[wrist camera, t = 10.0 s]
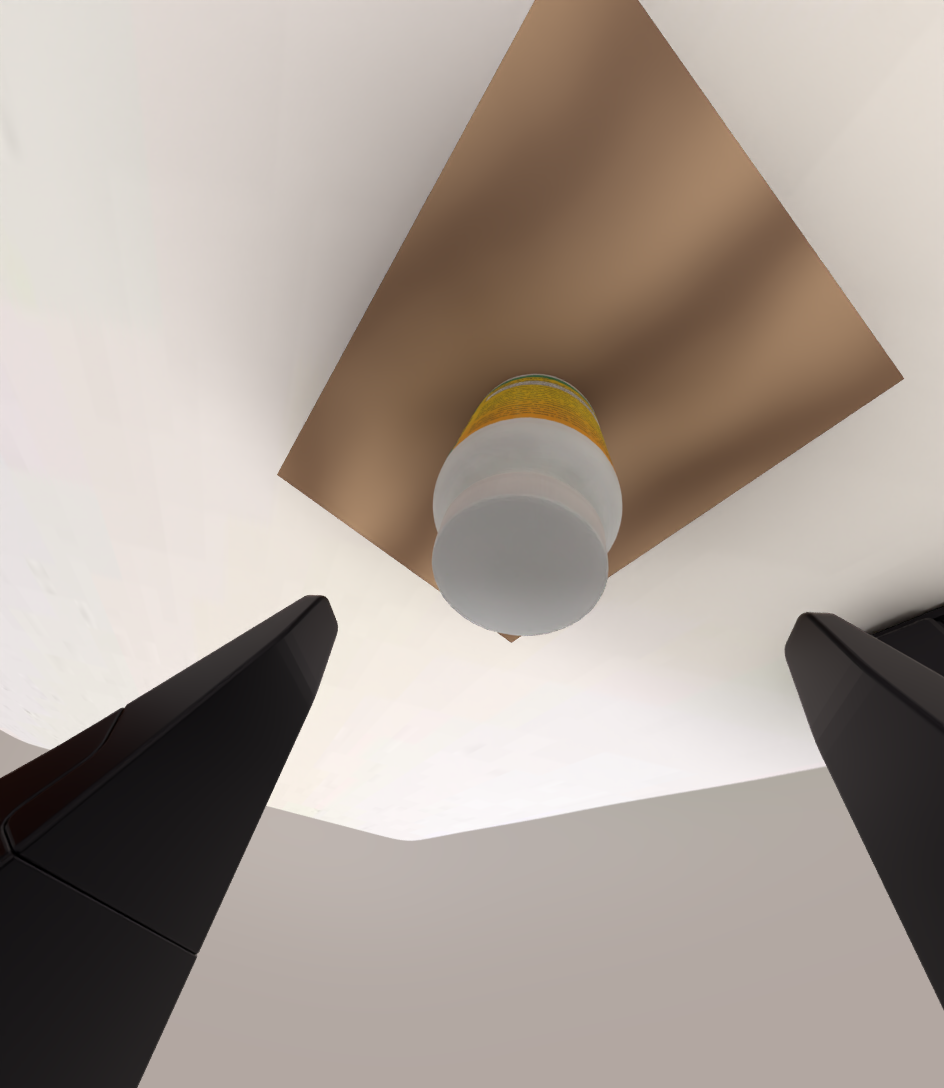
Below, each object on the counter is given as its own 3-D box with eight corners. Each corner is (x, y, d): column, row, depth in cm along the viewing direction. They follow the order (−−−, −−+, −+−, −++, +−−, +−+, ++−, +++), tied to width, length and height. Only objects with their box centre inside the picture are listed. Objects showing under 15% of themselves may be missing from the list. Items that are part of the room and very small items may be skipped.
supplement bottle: (596, 491, 18) (633, 662, 10) (478, 497, 19) (427, 655, 11) (600, 361, 15) (657, 455, 7) (461, 378, 16) (375, 474, 8)
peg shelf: (866, 367, 15) (904, 378, 14) (513, 619, 26) (511, 642, 24) (575, -31, 11) (580, -83, 10) (297, 459, 22) (277, 474, 20)
